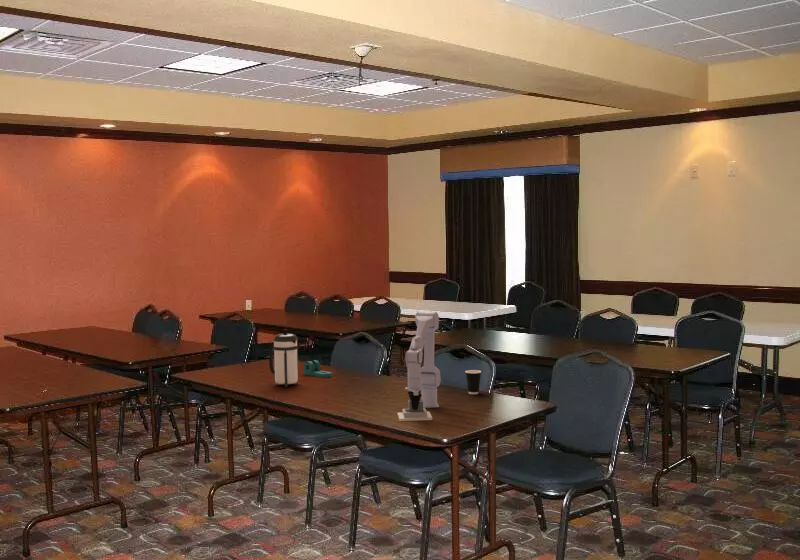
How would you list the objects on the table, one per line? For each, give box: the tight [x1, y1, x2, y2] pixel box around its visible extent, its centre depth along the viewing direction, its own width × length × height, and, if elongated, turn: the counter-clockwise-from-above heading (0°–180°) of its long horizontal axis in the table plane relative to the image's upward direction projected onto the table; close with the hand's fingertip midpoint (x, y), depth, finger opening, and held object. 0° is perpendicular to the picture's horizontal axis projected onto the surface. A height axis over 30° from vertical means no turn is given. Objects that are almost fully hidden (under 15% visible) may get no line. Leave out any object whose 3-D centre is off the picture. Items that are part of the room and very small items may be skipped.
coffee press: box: [268, 328, 301, 388], centre depth 430 cm, size 17×16×30 cm
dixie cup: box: [464, 369, 482, 395], centre depth 401 cm, size 8×8×11 cm
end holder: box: [397, 408, 433, 422], centre depth 353 cm, size 12×14×3 cm
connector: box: [407, 399, 423, 412], centre depth 353 cm, size 4×6×5 cm, turn 95°
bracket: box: [303, 359, 333, 379], centre depth 457 cm, size 18×7×8 cm, turn 48°
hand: (414, 408), depth 353 cm, fingers closed on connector, 4 cm apart
